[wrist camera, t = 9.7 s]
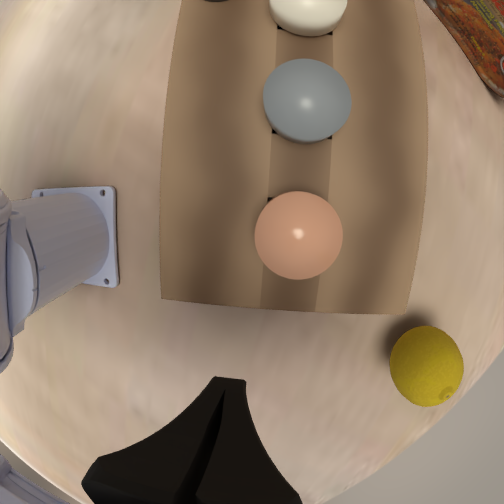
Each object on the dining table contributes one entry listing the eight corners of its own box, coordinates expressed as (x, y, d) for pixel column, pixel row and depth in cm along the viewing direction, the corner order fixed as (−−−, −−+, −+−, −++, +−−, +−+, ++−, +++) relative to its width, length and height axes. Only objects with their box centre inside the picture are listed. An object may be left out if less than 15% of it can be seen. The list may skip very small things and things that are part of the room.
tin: (399, -24, 14) (432, -73, 6) (419, -27, 13) (453, -71, 5) (496, 111, 16) (559, 98, 8) (510, 101, 16) (569, 88, 7)
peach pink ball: (256, 252, 20) (251, 276, 15) (261, 186, 19) (257, 188, 14) (321, 256, 20) (337, 282, 15) (327, 192, 19) (347, 196, 14)
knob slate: (263, 147, 18) (260, 135, 13) (267, 85, 17) (265, 55, 12) (330, 153, 18) (350, 144, 13) (332, 92, 17) (351, 65, 12)
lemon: (418, 297, 21) (470, 345, 13) (441, 337, 21) (486, 388, 14) (366, 340, 22) (398, 404, 14) (394, 375, 22) (425, 436, 15)
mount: (177, 281, 21) (154, 306, 17) (200, -11, 16) (186, -43, 11) (387, 295, 21) (411, 322, 16) (395, 8, 15) (416, -19, 10)
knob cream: (268, 53, 17) (267, 17, 12) (271, 7, 16) (270, -33, 10) (332, 60, 16) (349, 26, 11) (330, 13, 15) (344, -25, 10)
